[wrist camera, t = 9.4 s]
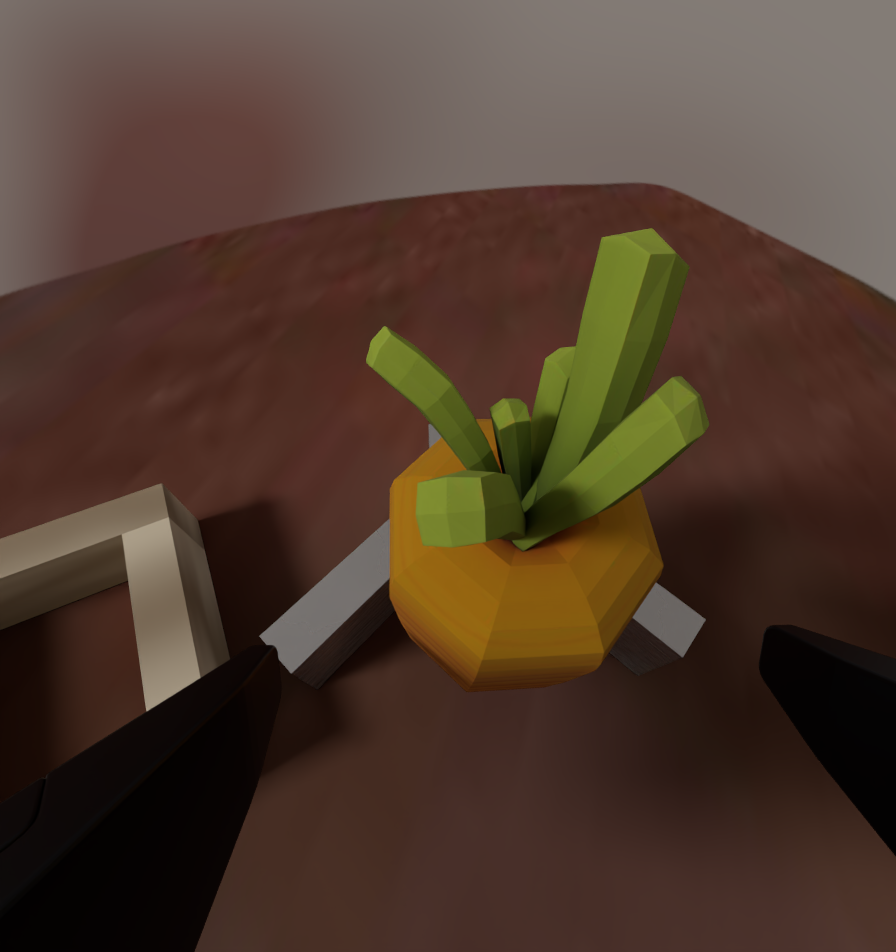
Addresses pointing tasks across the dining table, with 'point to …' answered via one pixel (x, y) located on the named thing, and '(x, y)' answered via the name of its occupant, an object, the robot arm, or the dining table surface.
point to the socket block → (119, 560)
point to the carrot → (542, 488)
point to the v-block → (368, 605)
